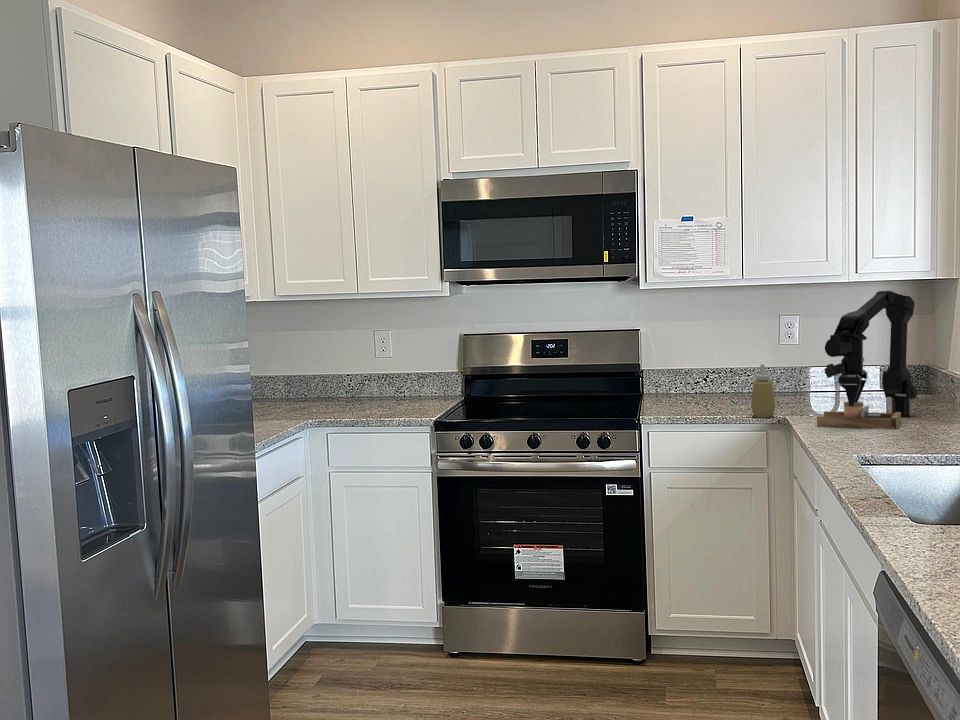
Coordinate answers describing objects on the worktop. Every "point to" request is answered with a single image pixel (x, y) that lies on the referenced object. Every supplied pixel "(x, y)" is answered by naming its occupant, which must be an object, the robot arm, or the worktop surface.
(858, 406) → the jar
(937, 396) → the worktop surface
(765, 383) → the squeeze bottle
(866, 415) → the pusher
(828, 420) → the tray
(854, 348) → the robot arm
